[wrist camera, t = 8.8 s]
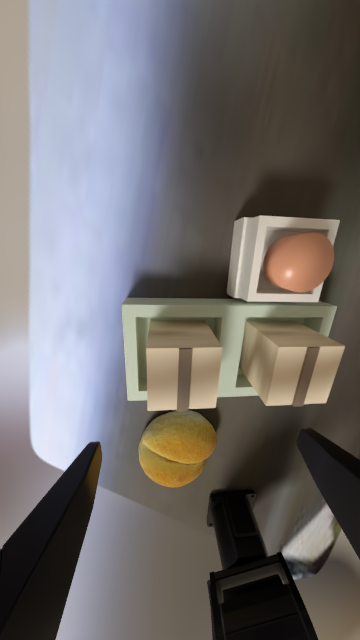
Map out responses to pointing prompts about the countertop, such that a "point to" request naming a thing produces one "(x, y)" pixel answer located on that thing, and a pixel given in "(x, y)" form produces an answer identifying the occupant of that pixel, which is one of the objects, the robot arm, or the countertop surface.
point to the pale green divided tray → (223, 322)
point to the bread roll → (176, 447)
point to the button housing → (250, 252)
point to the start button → (299, 261)
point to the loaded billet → (289, 362)
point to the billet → (182, 365)
